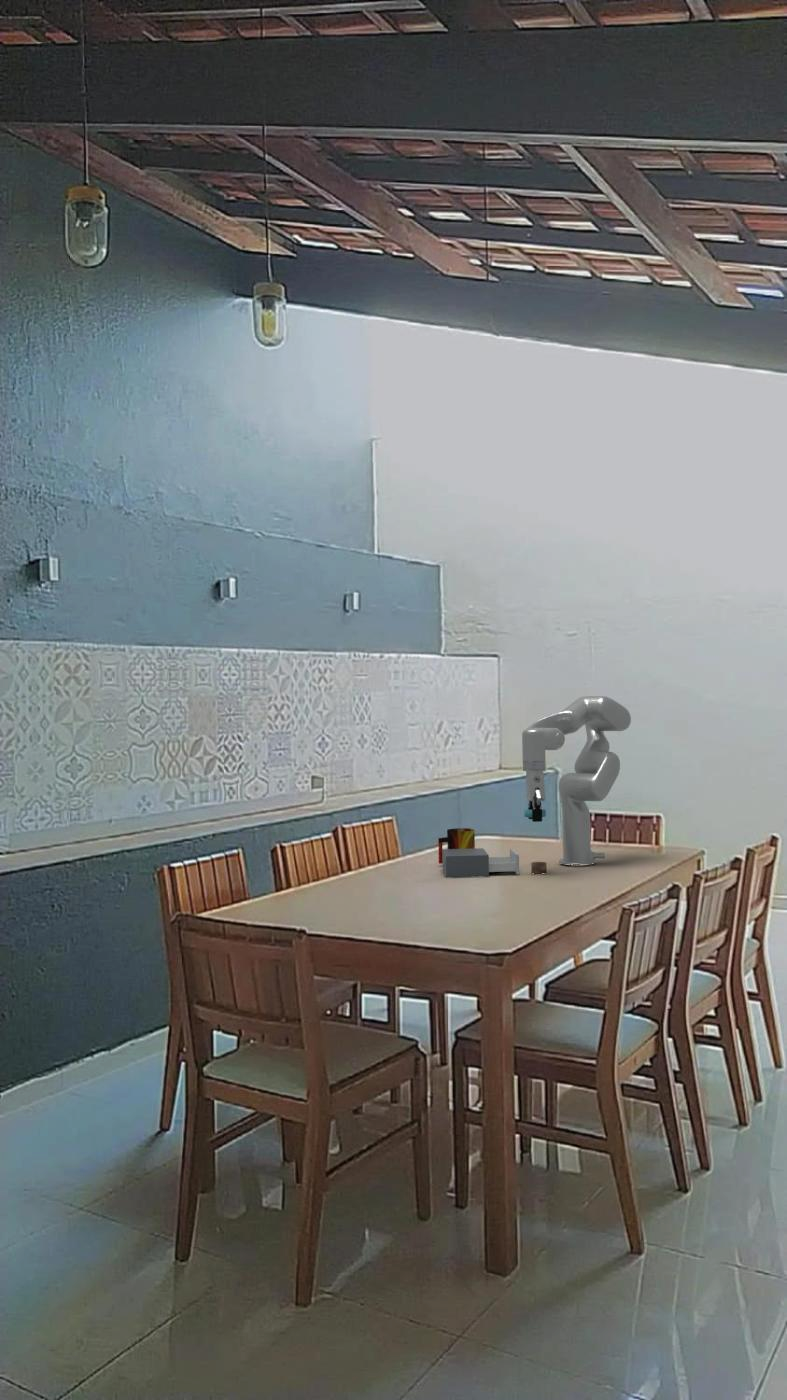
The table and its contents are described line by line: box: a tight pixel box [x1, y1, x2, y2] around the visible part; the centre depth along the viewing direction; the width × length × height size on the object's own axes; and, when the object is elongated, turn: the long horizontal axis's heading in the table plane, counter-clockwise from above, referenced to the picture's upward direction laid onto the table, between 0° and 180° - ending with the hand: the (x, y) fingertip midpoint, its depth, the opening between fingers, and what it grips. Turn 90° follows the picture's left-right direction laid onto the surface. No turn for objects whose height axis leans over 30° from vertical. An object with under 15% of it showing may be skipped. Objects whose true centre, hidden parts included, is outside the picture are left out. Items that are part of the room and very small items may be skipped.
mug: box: [438, 827, 476, 865], centre depth 407 cm, size 10×14×12 cm
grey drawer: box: [489, 848, 520, 875], centre depth 388 cm, size 13×15×6 cm
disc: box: [523, 808, 547, 818], centre depth 384 cm, size 7×7×2 cm
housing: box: [442, 847, 490, 878], centre depth 388 cm, size 14×17×7 cm
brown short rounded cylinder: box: [530, 861, 548, 875], centre depth 383 cm, size 5×5×4 cm
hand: (535, 819), depth 384 cm, fingers closed on disc, 7 cm apart
